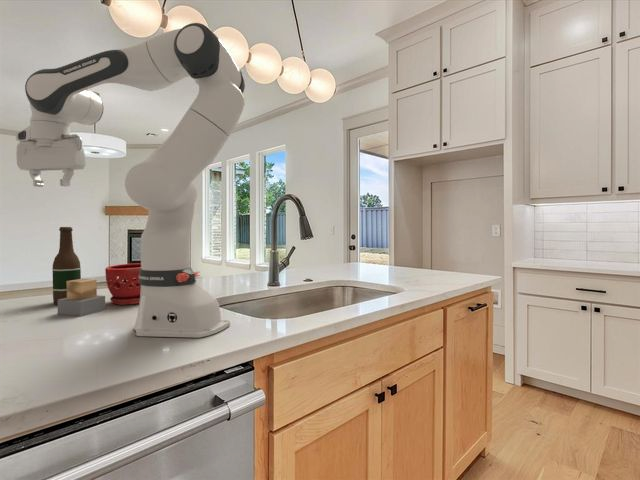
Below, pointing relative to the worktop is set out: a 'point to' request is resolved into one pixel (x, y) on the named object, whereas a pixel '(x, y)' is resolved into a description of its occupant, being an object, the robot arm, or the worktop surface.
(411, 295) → the worktop surface
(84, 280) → the oak cube
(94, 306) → the block
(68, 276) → the beer bottle
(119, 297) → the plant pot
